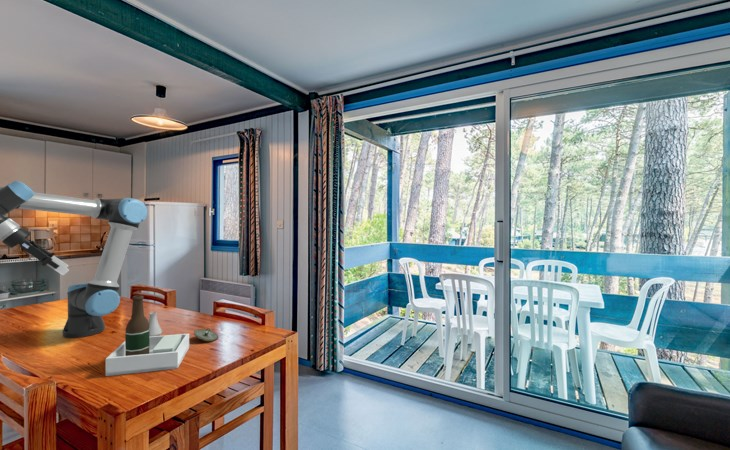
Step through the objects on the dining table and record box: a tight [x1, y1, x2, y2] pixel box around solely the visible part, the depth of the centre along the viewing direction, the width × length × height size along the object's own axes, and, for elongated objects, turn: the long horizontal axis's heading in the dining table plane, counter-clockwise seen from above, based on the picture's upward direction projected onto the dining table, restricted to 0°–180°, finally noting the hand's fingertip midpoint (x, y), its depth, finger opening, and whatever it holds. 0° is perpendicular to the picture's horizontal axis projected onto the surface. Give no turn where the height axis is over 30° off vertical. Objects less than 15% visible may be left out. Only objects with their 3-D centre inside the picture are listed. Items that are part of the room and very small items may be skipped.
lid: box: [193, 327, 219, 342], centre depth 149 cm, size 11×10×5 cm
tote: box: [105, 333, 190, 377], centre depth 127 cm, size 20×22×6 cm
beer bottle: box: [124, 294, 150, 356], centre depth 125 cm, size 8×8×24 cm
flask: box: [148, 312, 163, 337], centre depth 154 cm, size 7×7×10 cm
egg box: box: [153, 334, 182, 353], centre depth 128 cm, size 14×6×6 cm, turn 17°
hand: (66, 270), depth 133 cm, fingers open, 13 cm apart
